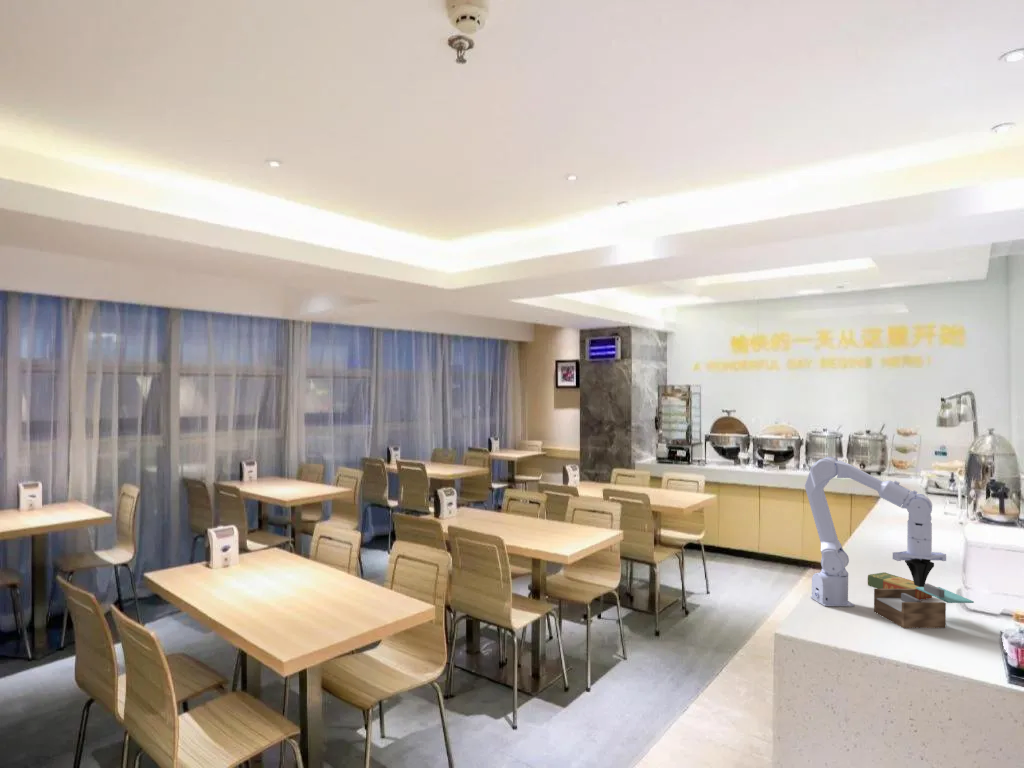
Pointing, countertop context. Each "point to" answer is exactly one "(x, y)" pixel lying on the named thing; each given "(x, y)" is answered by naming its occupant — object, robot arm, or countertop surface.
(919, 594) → the carton
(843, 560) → the robot arm
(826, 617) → the countertop surface
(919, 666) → the countertop surface
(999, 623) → the countertop surface
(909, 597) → the lower lid
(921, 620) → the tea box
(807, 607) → the countertop surface
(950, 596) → the upper lid
